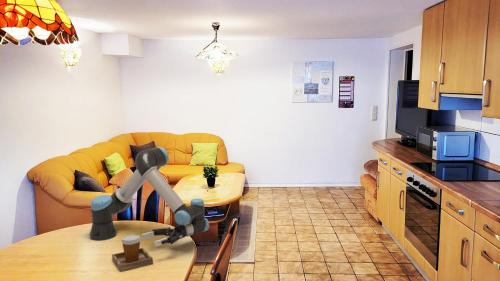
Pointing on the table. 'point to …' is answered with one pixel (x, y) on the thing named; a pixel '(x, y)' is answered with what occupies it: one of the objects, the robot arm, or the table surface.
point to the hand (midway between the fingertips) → (148, 240)
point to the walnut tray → (124, 266)
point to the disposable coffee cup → (131, 247)
